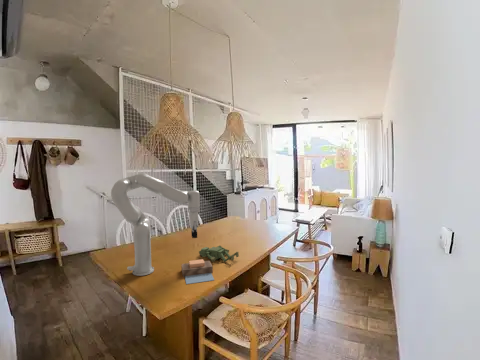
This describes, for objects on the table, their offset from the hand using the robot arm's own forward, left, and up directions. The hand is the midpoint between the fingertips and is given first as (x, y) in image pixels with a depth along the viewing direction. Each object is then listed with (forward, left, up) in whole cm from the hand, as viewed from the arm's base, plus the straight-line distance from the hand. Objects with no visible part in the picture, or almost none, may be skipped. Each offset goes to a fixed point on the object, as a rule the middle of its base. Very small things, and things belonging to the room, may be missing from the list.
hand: (194, 236), depth 168 cm
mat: (0, -20, -19) cm, 28 cm away
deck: (0, -10, -19) cm, 22 cm away
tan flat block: (0, -9, -15) cm, 18 cm away
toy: (+17, +8, -20) cm, 27 cm away
